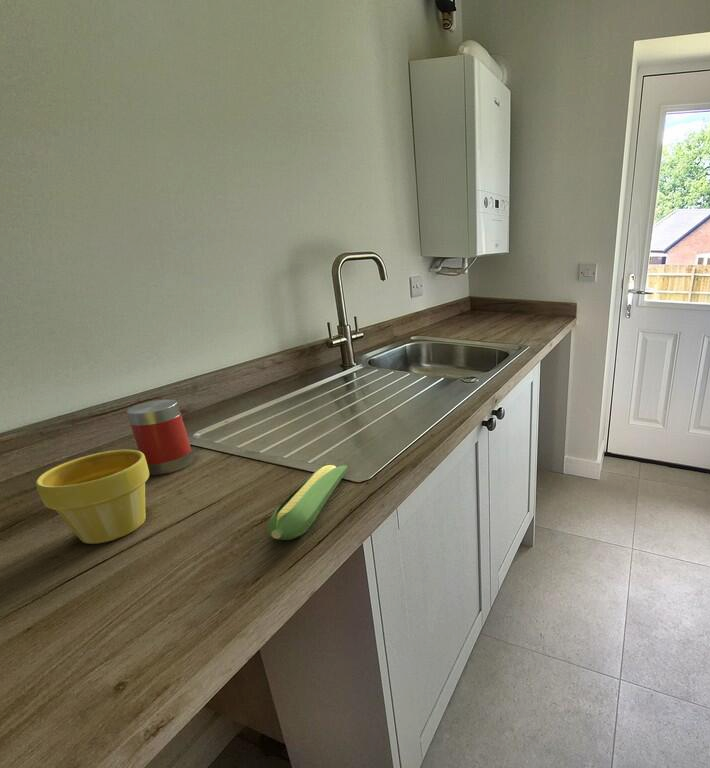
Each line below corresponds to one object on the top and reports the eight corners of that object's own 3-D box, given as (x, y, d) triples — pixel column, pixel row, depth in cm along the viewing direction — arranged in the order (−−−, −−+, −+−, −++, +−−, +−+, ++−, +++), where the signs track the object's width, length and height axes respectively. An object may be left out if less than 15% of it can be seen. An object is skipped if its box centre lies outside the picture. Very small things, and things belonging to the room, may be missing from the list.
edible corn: (259, 551, 53) (252, 521, 51) (329, 470, 72) (325, 447, 70) (299, 551, 52) (293, 522, 51) (358, 470, 71) (355, 447, 70)
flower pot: (159, 497, 64) (140, 441, 61) (167, 527, 57) (147, 466, 54) (64, 528, 57) (38, 466, 54) (60, 566, 50) (30, 498, 47)
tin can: (150, 479, 69) (129, 417, 65) (142, 466, 73) (122, 406, 70) (198, 464, 74) (181, 405, 70) (189, 452, 78) (172, 396, 74)
